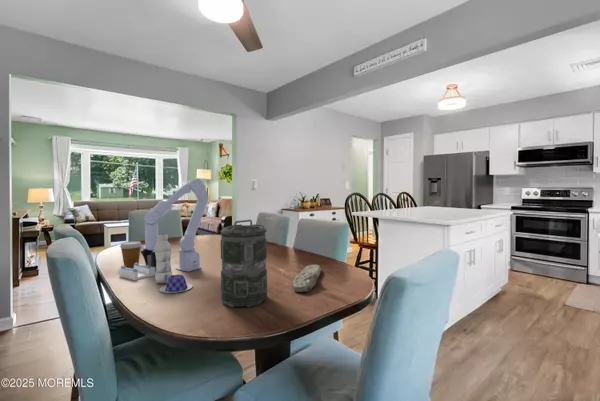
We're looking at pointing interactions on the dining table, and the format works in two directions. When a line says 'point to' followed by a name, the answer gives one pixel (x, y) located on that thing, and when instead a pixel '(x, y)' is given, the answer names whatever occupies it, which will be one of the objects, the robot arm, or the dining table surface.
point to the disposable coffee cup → (130, 253)
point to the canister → (243, 265)
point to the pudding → (175, 284)
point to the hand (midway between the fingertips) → (152, 265)
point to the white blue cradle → (137, 271)
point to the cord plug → (150, 261)
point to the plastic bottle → (163, 259)
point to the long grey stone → (306, 278)
